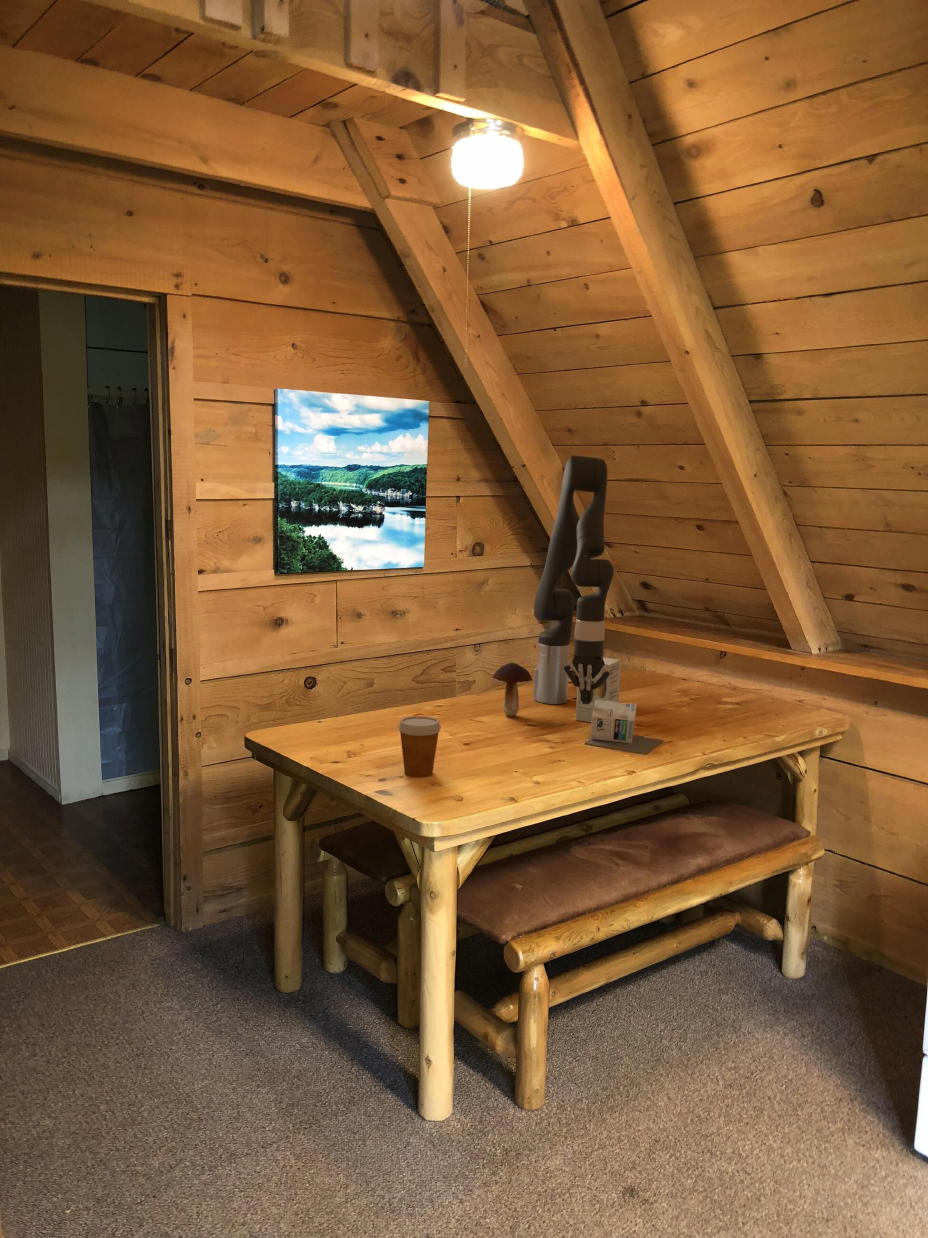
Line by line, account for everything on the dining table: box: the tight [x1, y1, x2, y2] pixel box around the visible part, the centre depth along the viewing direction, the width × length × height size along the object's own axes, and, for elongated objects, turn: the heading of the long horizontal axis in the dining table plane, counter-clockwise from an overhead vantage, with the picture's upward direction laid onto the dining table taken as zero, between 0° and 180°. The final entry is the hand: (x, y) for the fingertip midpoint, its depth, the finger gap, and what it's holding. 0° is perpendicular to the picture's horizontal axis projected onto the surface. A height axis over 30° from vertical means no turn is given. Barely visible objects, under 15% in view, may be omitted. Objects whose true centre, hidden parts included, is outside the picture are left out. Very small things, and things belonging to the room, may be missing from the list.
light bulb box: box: [589, 700, 638, 744], centre depth 254 cm, size 11×7×11 cm
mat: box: [584, 734, 665, 755], centre depth 252 cm, size 16×14×1 cm
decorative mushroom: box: [491, 662, 533, 717], centre depth 274 cm, size 11×11×15 cm
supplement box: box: [575, 656, 622, 723], centre depth 273 cm, size 10×9×17 cm
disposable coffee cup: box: [397, 715, 442, 778], centre depth 222 cm, size 10×10×12 cm
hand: (586, 703), depth 255 cm, fingers closed
